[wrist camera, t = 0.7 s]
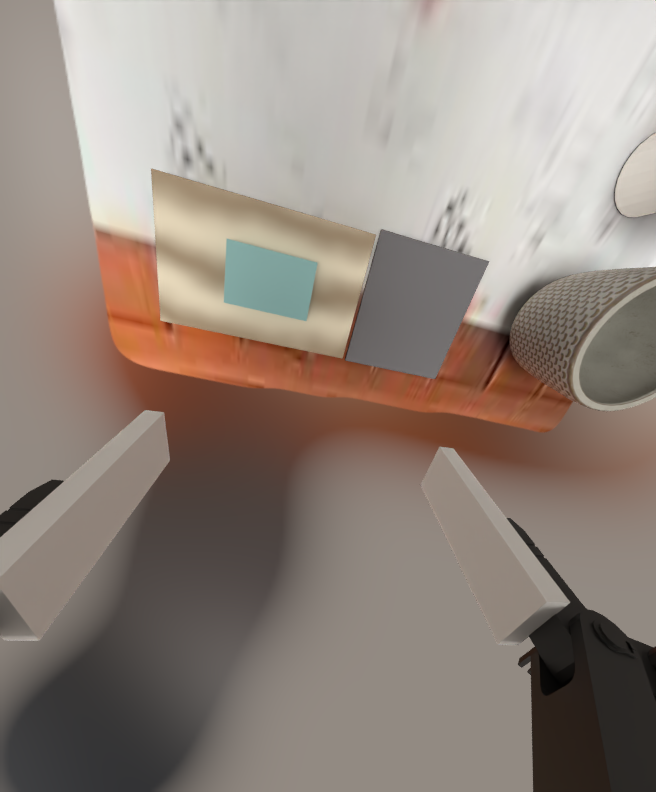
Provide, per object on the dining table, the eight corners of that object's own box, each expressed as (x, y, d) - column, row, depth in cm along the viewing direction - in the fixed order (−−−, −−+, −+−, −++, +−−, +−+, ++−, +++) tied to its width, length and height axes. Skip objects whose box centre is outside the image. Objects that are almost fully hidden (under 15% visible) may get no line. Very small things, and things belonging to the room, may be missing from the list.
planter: (558, 239, 31) (707, 224, 19) (608, 311, 35) (753, 334, 24) (467, 331, 35) (543, 364, 24) (521, 384, 40) (607, 433, 28)
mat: (381, 229, 29) (381, 229, 29) (487, 261, 31) (489, 261, 31) (345, 359, 36) (345, 360, 36) (433, 377, 38) (435, 379, 38)
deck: (167, 178, 26) (151, 168, 23) (370, 237, 29) (376, 234, 27) (173, 316, 32) (160, 320, 29) (340, 351, 35) (342, 358, 33)
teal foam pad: (229, 300, 29) (223, 302, 27) (232, 240, 26) (226, 238, 24) (306, 318, 30) (306, 321, 28) (317, 262, 28) (317, 262, 26)
